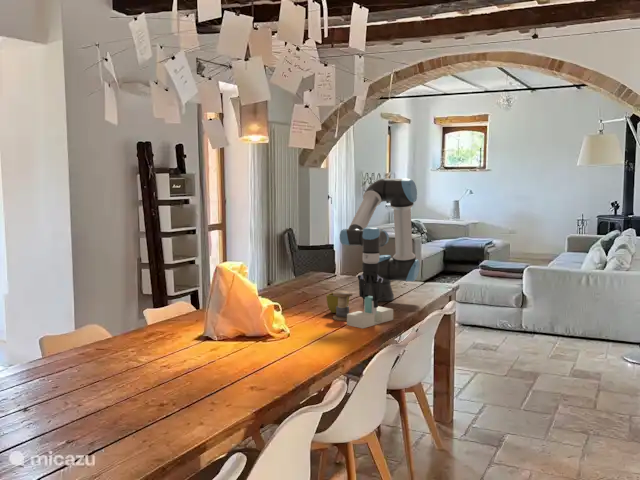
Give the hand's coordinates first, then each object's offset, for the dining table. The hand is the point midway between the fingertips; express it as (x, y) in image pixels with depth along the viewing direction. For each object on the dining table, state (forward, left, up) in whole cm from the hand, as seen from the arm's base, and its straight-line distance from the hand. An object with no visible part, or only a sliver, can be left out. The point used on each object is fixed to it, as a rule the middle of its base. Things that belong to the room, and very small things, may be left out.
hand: (370, 313), depth 281 cm
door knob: (+3, -14, -4) cm, 15 cm away
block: (0, 0, 0) cm, 0 cm away
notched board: (0, 0, -4) cm, 4 cm away
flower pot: (-5, -24, -4) cm, 25 cm away
